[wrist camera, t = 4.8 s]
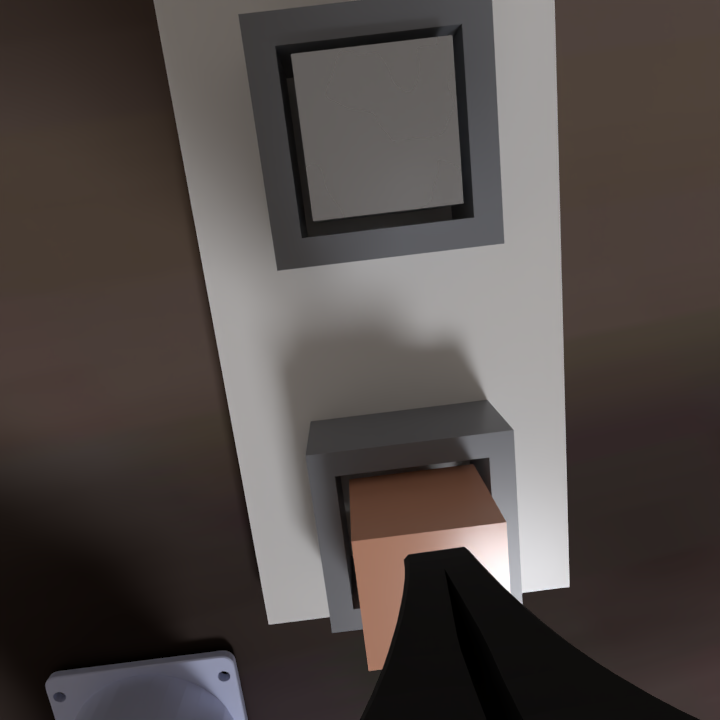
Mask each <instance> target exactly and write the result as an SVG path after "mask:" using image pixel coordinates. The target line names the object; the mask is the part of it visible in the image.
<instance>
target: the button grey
mask: <svg viewBox="0 0 720 720" xmlns="http://www.w3.org/2000/svg"><path fill="white" fill-rule="evenodd" d="M291 59H292V67H293V74H294V82H295V89H296V97H297V104H298V112H299V119H300V127H301V134H302V142H303V149H304V157H305V164H306V172H307V179H308V187H309V195H310V202H311V210H312V217H313V221H314V222H317V223H323V222H331V221H339V220H348V219H356V218H364V217H373V216H381V215H389V214H398V213H406V212H414V211H423V210H431V209H439V208H444V207H449V206H453V205H458V204H462V203H464V201H463V186H462V171H461V156H460V141H459V126H458V112H457V97H456V82H455V67H454V52H453V37H452V35H448V36H440V37H431V38H423V39H414V40H406V41H397V42H389V43H380V44H372V45H363V46H355V47H346V48H337V49H329V50H320V51H312V52H303V53H295V54H291Z"/></svg>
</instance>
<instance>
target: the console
mask: <svg viewBox="0 0 720 720" xmlns="http://www.w3.org/2000/svg"><path fill="white" fill-rule="evenodd" d="M153 1H154V6H155V12H156V17H157V23H158V28H159V33H160V39H161V44H162V50H163V55H164V60H165V66H166V71H167V77H168V82H169V87H170V93H171V98H172V104H173V109H174V115H175V120H176V125H177V131H178V136H179V142H180V147H181V152H182V158H183V163H184V169H185V174H186V179H187V185H188V190H189V196H190V201H191V206H192V212H193V217H194V223H195V228H196V234H197V239H198V244H199V250H200V255H201V261H202V266H203V271H204V277H205V282H206V288H207V293H208V298H209V304H210V309H211V315H212V320H213V325H214V331H215V336H216V342H217V347H218V352H219V358H220V363H221V369H222V374H223V380H224V385H225V390H226V396H227V401H228V407H229V412H230V417H231V423H232V428H233V434H234V439H235V444H236V450H237V455H238V461H239V466H240V471H241V477H242V482H243V488H244V493H245V499H246V504H247V509H248V515H249V520H250V526H251V531H252V536H253V542H254V547H255V553H256V558H257V563H258V569H259V574H260V580H261V585H262V590H263V596H264V601H265V607H266V612H267V617H268V623H269V624H277V623H285V622H293V621H301V620H309V619H317V618H325V617H330V621H331V628H332V633H336V632H344V631H352V630H360V629H363V624H362V617H361V610H360V602H359V595H358V588H357V580H356V573H355V565H354V558H353V551H352V543H351V520H350V493H349V479H356V478H364V477H372V476H380V475H388V474H396V473H405V472H413V471H421V470H429V469H437V468H445V467H453V466H461V465H469V464H474V466H475V468H476V469H477V471H478V473H479V475H480V476H481V478H482V480H483V482H484V483H485V485H486V487H487V489H488V490H489V492H490V494H491V496H492V498H493V499H494V501H495V503H496V505H497V506H498V508H499V510H500V512H501V513H502V515H503V517H504V519H505V520H506V522H507V538H508V556H509V574H510V592H511V594H512V595H513V596H514V597H515V598H516V599H517V600H518V601H519V602H520V603H522V593H524V592H532V591H540V590H548V589H556V588H564V587H569V549H568V509H567V470H566V431H565V392H564V353H563V314H562V274H561V235H560V196H559V157H558V118H557V78H556V39H555V0H153ZM448 35H452V37H453V52H454V67H455V82H456V97H457V112H458V126H459V141H460V156H461V171H462V186H463V201H464V203H462V204H458V205H453V206H449V207H444V208H439V209H431V210H423V211H414V212H406V213H398V214H389V215H381V216H373V217H364V218H356V219H348V220H339V221H331V222H323V223H317V222H314V221H313V217H312V210H311V202H310V195H309V187H308V179H307V172H306V164H305V157H304V149H303V142H302V134H301V127H300V119H299V112H298V104H297V97H296V89H295V82H294V74H293V67H292V59H291V54H295V53H303V52H312V51H320V50H329V49H337V48H346V47H355V46H363V45H372V44H380V43H389V42H397V41H406V40H414V39H423V38H431V37H440V36H448ZM522 604H523V603H522Z"/></svg>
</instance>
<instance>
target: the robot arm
mask: <svg viewBox="0 0 720 720" xmlns="http://www.w3.org/2000/svg"><path fill="white" fill-rule="evenodd" d="M404 567H405V579H404V588H403V595H402V600H401V605H400V610H399V615H398V620H397V624H396V627H395V631H394V634H393V637H392V641H391V644H390V648H389V651H388V654H387V657H386V660H385V663H384V665H383V668H382V671H381V674H380V676H379V679H378V681H377V683H376V686H375V688H374V691H373V693H372V695H371V698H370V700H369V702H368V704H367V706H366V708H365V710H364V712H363V715H362V717H361V719H360V720H699V719H697V718H695V717H693V716H691V715H689V714H687V713H685V712H683V711H681V710H679V709H677V708H675V707H673V706H671V705H669V704H667V703H665V702H663V701H661V700H660V699H658V698H656V697H654V696H652V695H650V694H648V693H647V692H645V691H643V690H642V689H640V688H638V687H636V686H635V685H633V684H631V683H630V682H628V681H626V680H624V679H623V678H621V677H619V676H618V675H616V674H614V673H613V672H611V671H610V670H608V669H606V668H605V667H603V666H602V665H600V664H599V663H597V662H596V661H594V660H593V659H591V658H590V657H588V656H587V655H585V654H584V653H583V652H581V651H580V650H578V649H577V648H575V647H574V646H573V645H571V644H570V643H568V642H567V641H566V640H565V639H563V638H562V637H561V636H559V635H558V634H557V633H556V632H554V631H553V630H552V629H551V628H549V627H548V626H547V625H546V624H545V623H543V622H542V621H541V620H540V619H538V618H537V617H536V616H535V615H534V614H533V613H532V612H530V611H529V610H528V609H527V608H526V607H525V606H524V605H523V604H522V603H520V602H519V601H518V600H517V599H516V598H515V597H514V596H513V595H512V594H511V593H510V592H509V591H507V590H506V589H505V588H504V587H503V586H502V585H501V584H500V583H499V582H498V581H497V580H496V579H495V578H494V577H493V576H492V575H491V574H490V573H489V572H488V570H487V569H486V568H485V567H484V566H483V565H482V564H481V563H480V562H479V561H478V560H477V559H476V558H475V556H474V555H473V554H472V553H471V552H470V551H469V550H468V549H467V548H465V547H458V548H451V549H444V550H436V551H429V552H422V553H415V554H408V555H407V557H406V558H405V559H404ZM222 671H226V672H228V673H229V674H223V673H222ZM45 688H46V692H47V695H48V698H49V701H50V704H51V707H52V711H53V714H54V717H55V720H248V718H247V713H246V708H245V703H244V698H243V694H242V689H241V684H240V679H239V674H238V669H237V664H236V660H235V657H234V655H233V654H232V653H231V652H228V651H214V652H206V653H198V654H190V655H182V656H174V657H166V658H158V659H150V660H142V661H134V662H127V663H119V664H111V665H103V666H95V667H87V668H79V669H71V670H63V671H57V672H54V673H52V674H51V675H50V677H49V678H48V680H47V681H46V684H45ZM60 692H62V693H63V694H61V693H60Z"/></svg>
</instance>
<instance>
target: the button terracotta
mask: <svg viewBox="0 0 720 720" xmlns="http://www.w3.org/2000/svg"><path fill="white" fill-rule="evenodd" d="M349 493H350V520H351V543H352V551H353V558H354V565H355V573H356V580H357V588H358V595H359V602H360V610H361V617H362V624H363V632H364V639H365V647H366V654H367V661H368V669H369V671H372V670H380V669H382V668H383V665H384V663H385V660H386V657H387V654H388V651H389V648H390V644H391V641H392V637H393V634H394V631H395V627H396V624H397V620H398V615H399V610H400V605H401V600H402V595H403V588H404V579H405V567H404V559H405V558H406V557H407V555H408V554H415V553H422V552H429V551H436V550H444V549H451V548H458V547H465V548H467V549H468V550H469V551H470V552H471V553H472V554H473V555H474V556H475V558H476V559H477V560H478V561H479V562H480V563H481V564H482V565H483V566H484V567H485V568H486V569H487V570H488V572H489V573H490V574H491V575H492V576H493V577H494V578H495V579H496V580H497V581H498V582H499V583H500V584H501V585H502V586H503V587H504V588H505V589H506V590H507V591H509V592H510V574H509V556H508V538H507V522H506V520H505V519H504V517H503V515H502V513H501V512H500V510H499V508H498V506H497V505H496V503H495V501H494V499H493V498H492V496H491V494H490V492H489V490H488V489H487V487H486V485H485V483H484V482H483V480H482V478H481V476H480V475H479V473H478V471H477V469H476V468H475V466H474V464H469V465H461V466H453V467H445V468H437V469H429V470H421V471H413V472H405V473H396V474H388V475H380V476H372V477H364V478H356V479H349ZM510 593H511V592H510Z"/></svg>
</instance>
